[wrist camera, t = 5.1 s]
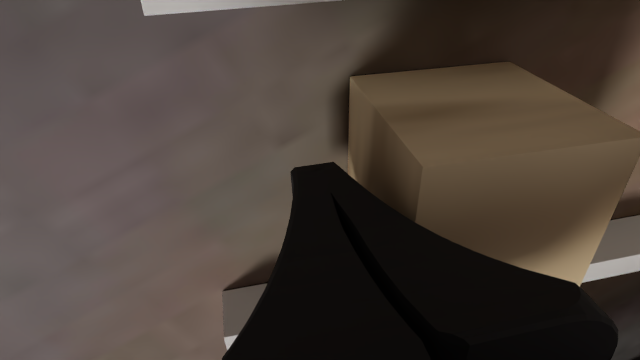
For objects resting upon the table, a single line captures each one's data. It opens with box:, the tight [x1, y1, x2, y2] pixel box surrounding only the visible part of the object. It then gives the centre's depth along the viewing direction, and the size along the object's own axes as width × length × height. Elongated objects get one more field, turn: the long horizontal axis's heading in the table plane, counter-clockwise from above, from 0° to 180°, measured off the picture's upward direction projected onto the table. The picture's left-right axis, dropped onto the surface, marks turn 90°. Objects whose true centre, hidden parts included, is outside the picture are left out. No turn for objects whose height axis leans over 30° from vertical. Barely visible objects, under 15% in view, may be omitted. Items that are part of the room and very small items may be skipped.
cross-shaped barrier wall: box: [141, 0, 640, 351], centre depth 14 cm, size 28×25×2 cm
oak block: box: [348, 62, 640, 287], centre depth 12 cm, size 5×5×5 cm
